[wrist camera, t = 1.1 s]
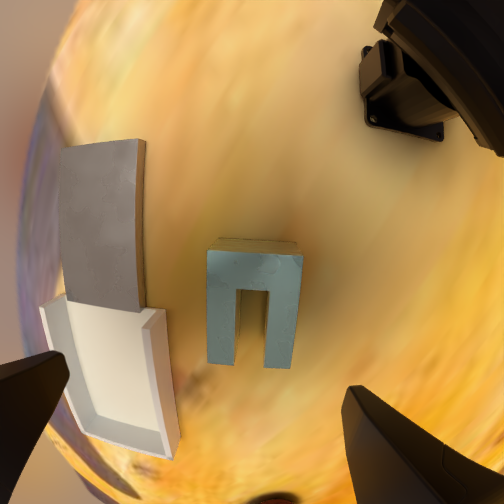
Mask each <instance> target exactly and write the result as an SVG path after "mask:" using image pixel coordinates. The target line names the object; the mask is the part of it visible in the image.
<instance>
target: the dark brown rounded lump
mask: <svg viewBox="0 0 504 504" xmlns="http://www.w3.org/2000/svg"><path fill="white" fill-rule="evenodd" d="M259 504H294V503H292V502H291V501H288V500H284V499H273V500H268V501H264V502H262V503H259Z"/></svg>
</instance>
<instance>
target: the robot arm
mask: <svg viewBox="0 0 504 504" xmlns="http://www.w3.org/2000/svg"><path fill="white" fill-rule="evenodd" d="M373 27H374V28H375V29H376V30H377V31H378V32H380V33H383V34H384V35H385V36H387V37H388V39H387V40H383V39H380V40H379V41H377V43H376V44H375V45H374V46H373V47H371V46H365V47H364V48H363V49H362V62H361V63H360V64H359V70H360V89H361V95H362V96H363V98H364V102H365V122H366V124H367V125H368V126H370V127H374V128H379V129H384V130H389V131H393V132H398V133H402V134H407V135H411V136H415V137H419V138H422V139H426V140H430V141H433V142H442V141H443V139H444V127H443V121H446V120H449V119H452V118H455V117H458V116H460V117H461V118H462V119H463V121H464V122H465V123H466V125H467V126H468V128H469V129H470V131H471V132H472V134H473V135H474V139H475V141H476V142H477V144H478V145H479V146H481V147H484V148H488V149H490V150H494V152H495V153H496V155H497V156H498V157H502V158H504V0H384V1H383V3H382V6H381V8H380V11H379V13H378V16H377V19H376V21H375V24H374V26H373ZM367 51H369V53H367ZM370 117H373V118H374V119H375V122H372V121H371V120H370ZM436 133H437V134H438V136H439V138H438V137H437V136H436ZM69 378H70V371H69V368H68V365H67V362H66V359H65V356H64V354H63V353H62V352H59V351H56V350H51V351H48V352H44V353H41V354H37V355H34V356H31V357H27V358H24V359H20V360H17V361H13V362H9V363H6V364H2V365H0V504H8V503H9V500H10V498H11V495H12V492H13V490H14V488H15V486H16V484H17V481H18V479H19V477H20V475H21V473H22V471H23V469H24V467H25V465H26V463H27V461H28V459H29V457H30V455H31V453H32V451H33V449H34V447H35V445H36V443H37V441H38V439H39V438H40V436H41V434H42V432H43V430H44V428H45V427H46V425H47V423H48V421H49V420H50V418H51V416H52V414H53V412H54V411H55V408H56V406H57V404H58V402H59V400H60V398H61V395H62V393H63V391H64V389H65V387H66V385H67V383H68V381H69ZM341 414H342V423H343V431H344V440H345V449H346V456H347V461H348V465H349V470H350V474H351V478H352V482H353V487H354V491H355V496H356V500H357V504H504V475H502V474H499V473H497V472H495V471H493V470H491V469H488V468H486V467H484V466H482V465H480V464H478V463H476V462H474V461H472V460H470V459H468V458H467V457H465V456H463V455H462V454H460V453H458V452H457V451H455V450H454V449H452V448H451V447H449V446H448V445H446V444H444V443H443V442H441V441H440V440H439V439H437V438H436V437H434V436H433V435H431V434H430V433H428V432H427V431H425V430H424V429H422V428H421V427H420V426H418V425H417V424H415V423H414V422H412V421H411V420H410V419H408V418H407V417H405V416H404V415H403V414H401V413H400V412H398V411H397V410H396V409H394V408H393V407H391V406H390V405H389V404H387V403H386V402H384V401H383V400H382V399H380V398H379V397H378V396H376V395H375V394H374V393H372V392H371V391H369V390H368V389H367V388H365V387H364V386H362V385H354V386H349V387H348V388H347V390H346V394H345V397H344V401H343V404H342V408H341Z"/></svg>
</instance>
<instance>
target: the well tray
mask: <svg viewBox="0 0 504 504" xmlns="http://www.w3.org/2000/svg"><path fill="white" fill-rule="evenodd" d="M39 308H40V313H41V318H42V322H43V326H44V330H45V334H46V338H47V342H48V345H49V349H50V351H51V350H56V351H59V352H62V353H63V354H64V356H65V359H66V362H67V365H68V368H69V371H70V378H69V381H68V383H67V385H66V387H65V389H64V393H65V396H66V398H67V401H68V403H69V406H70V408H71V411H72V413H73V415H74V417H75V420H76V422H77V424H78V426H79V428H80V430H81V432H82V433H83V434H85V435H88V436H90V437H93V438H96V439H98V440H101V441H104V442H107V443H110V444H113V445H116V446H119V447H122V448H125V449H129V450H132V451H136V452H139V453H143V454H147V455H151V456H155V457H159V458H163V459H168V460H174V457H175V454H176V451H177V448H178V445H179V442H180V438H181V435H180V429H179V423H178V417H177V411H176V404H175V397H174V390H173V382H172V374H171V365H170V356H169V345H168V334H167V321H166V309H158V308H150V307H146V308H145V309H144V310H143V311H142V312H141V313H135V312H128V311H122V310H115V309H109V308H103V307H98V306H92V305H87V304H81V303H76V302H71V301H67V297H66V294H63V293H62V294H60V295H58V296H57V297H55V298H53V299H51V300H50V301H48V302H46V303H45V304H43V305H41V306H40V307H39Z"/></svg>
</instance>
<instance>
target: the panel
mask: <svg viewBox="0 0 504 504" xmlns="http://www.w3.org/2000/svg"><path fill="white" fill-rule="evenodd" d="M145 143H146V141H144V140H141V139H127V140H118V141H109V142H100V143H93V144H86V145H79V146H73V147H67V148H61V157H60V173H59V228H60V245H61V257H62V267H63V276H64V283H65V290H66V297H67V301H71V302H76V303H81V304H87V305H92V306H98V307H103V308H109V309H115V310H122V311H128V312H135V313H141V312H142V311H143V310H144V309H145V308H146V299H145V285H144V267H143V230H142V211H143V175H144V157H145Z"/></svg>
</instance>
